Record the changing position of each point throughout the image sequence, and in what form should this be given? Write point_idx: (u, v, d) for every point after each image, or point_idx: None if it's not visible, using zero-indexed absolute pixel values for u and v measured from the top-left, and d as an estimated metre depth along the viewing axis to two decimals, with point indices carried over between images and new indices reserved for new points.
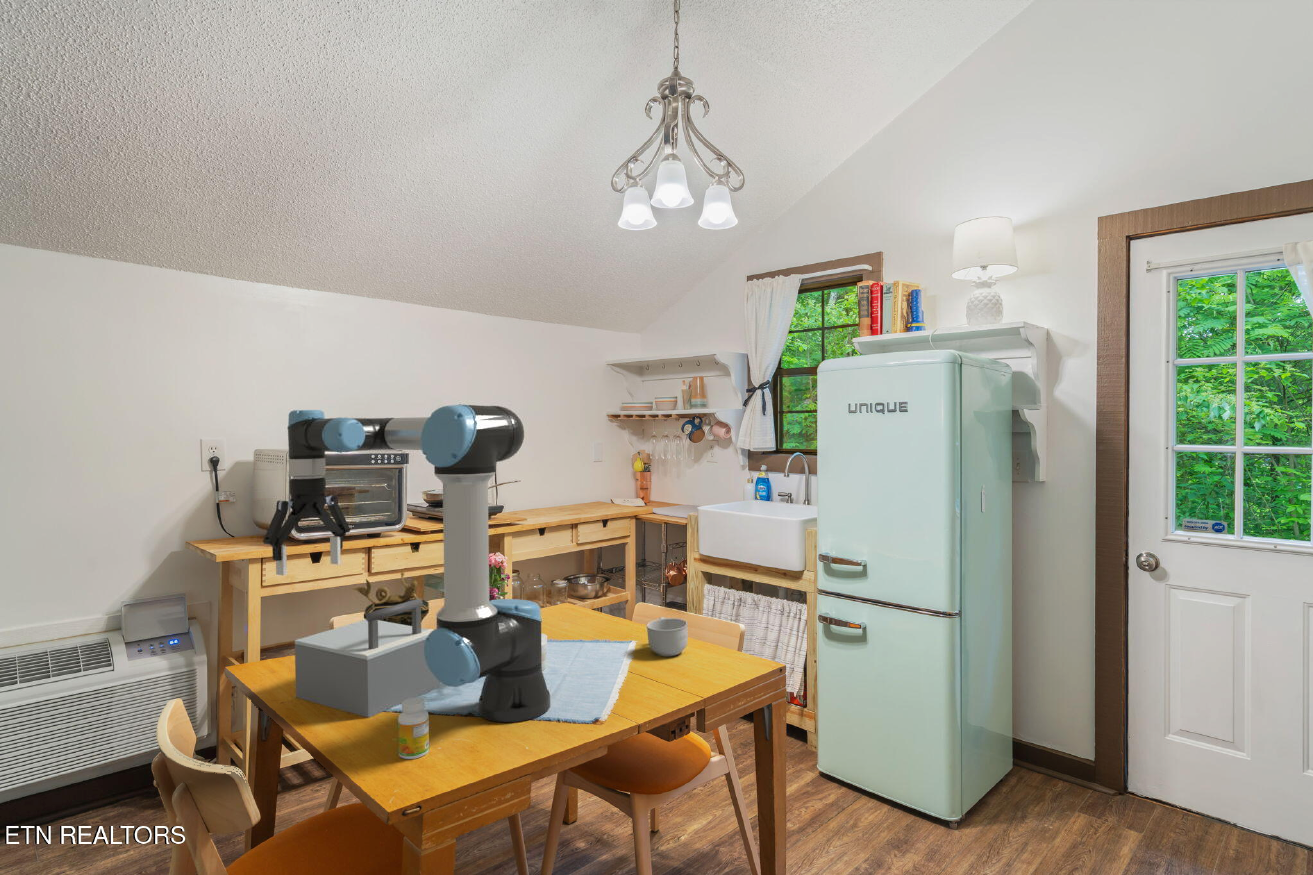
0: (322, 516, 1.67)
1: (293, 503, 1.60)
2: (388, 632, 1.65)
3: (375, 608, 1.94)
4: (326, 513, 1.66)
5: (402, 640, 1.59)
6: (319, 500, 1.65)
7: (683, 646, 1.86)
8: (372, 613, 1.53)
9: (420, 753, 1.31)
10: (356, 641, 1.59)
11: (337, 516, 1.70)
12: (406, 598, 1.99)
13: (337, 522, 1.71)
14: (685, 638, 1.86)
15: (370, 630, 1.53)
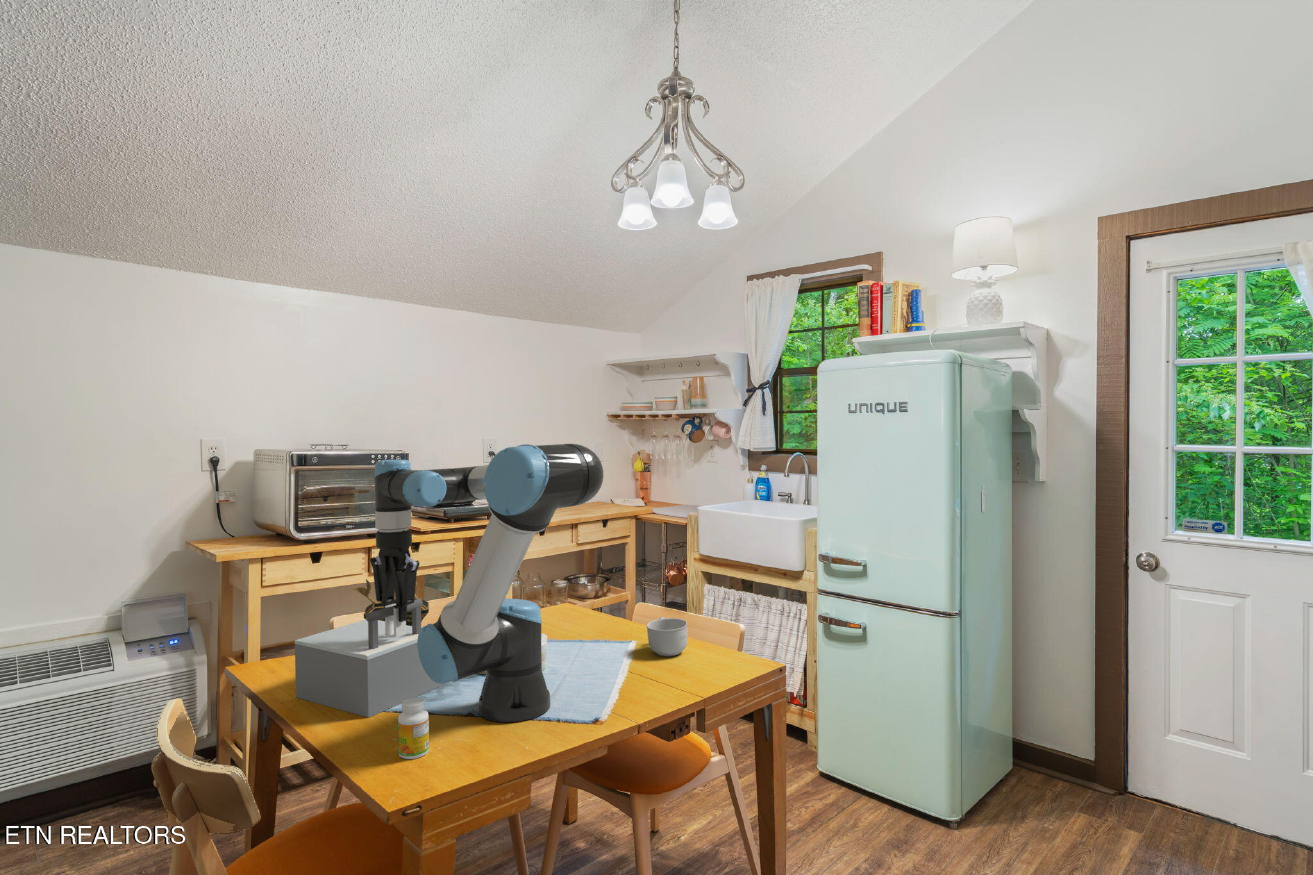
0: None
1: None
2: None
3: (375, 608, 1.94)
4: (394, 574, 1.56)
5: (402, 640, 1.59)
6: (397, 555, 1.56)
7: (683, 646, 1.86)
8: (372, 613, 1.53)
9: (420, 753, 1.31)
10: (356, 641, 1.59)
11: None
12: None
13: None
14: (685, 638, 1.86)
15: (370, 630, 1.53)
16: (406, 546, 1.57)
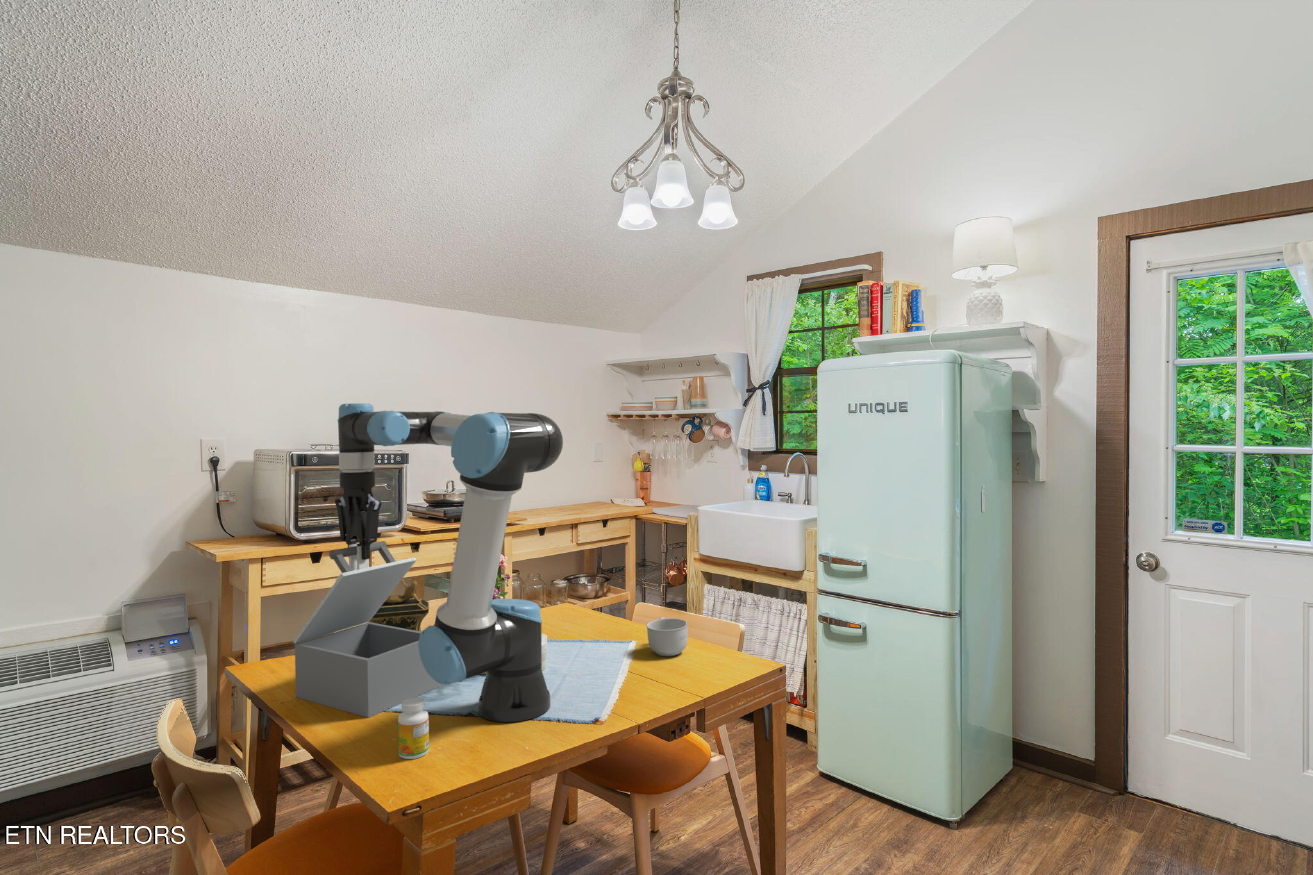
0: None
1: None
2: None
3: None
4: (357, 513, 1.61)
5: None
6: (360, 495, 1.62)
7: (683, 646, 1.86)
8: (333, 550, 1.58)
9: (420, 753, 1.31)
10: None
11: None
12: (406, 598, 1.99)
13: None
14: (685, 638, 1.86)
15: (339, 564, 1.57)
16: (369, 486, 1.62)
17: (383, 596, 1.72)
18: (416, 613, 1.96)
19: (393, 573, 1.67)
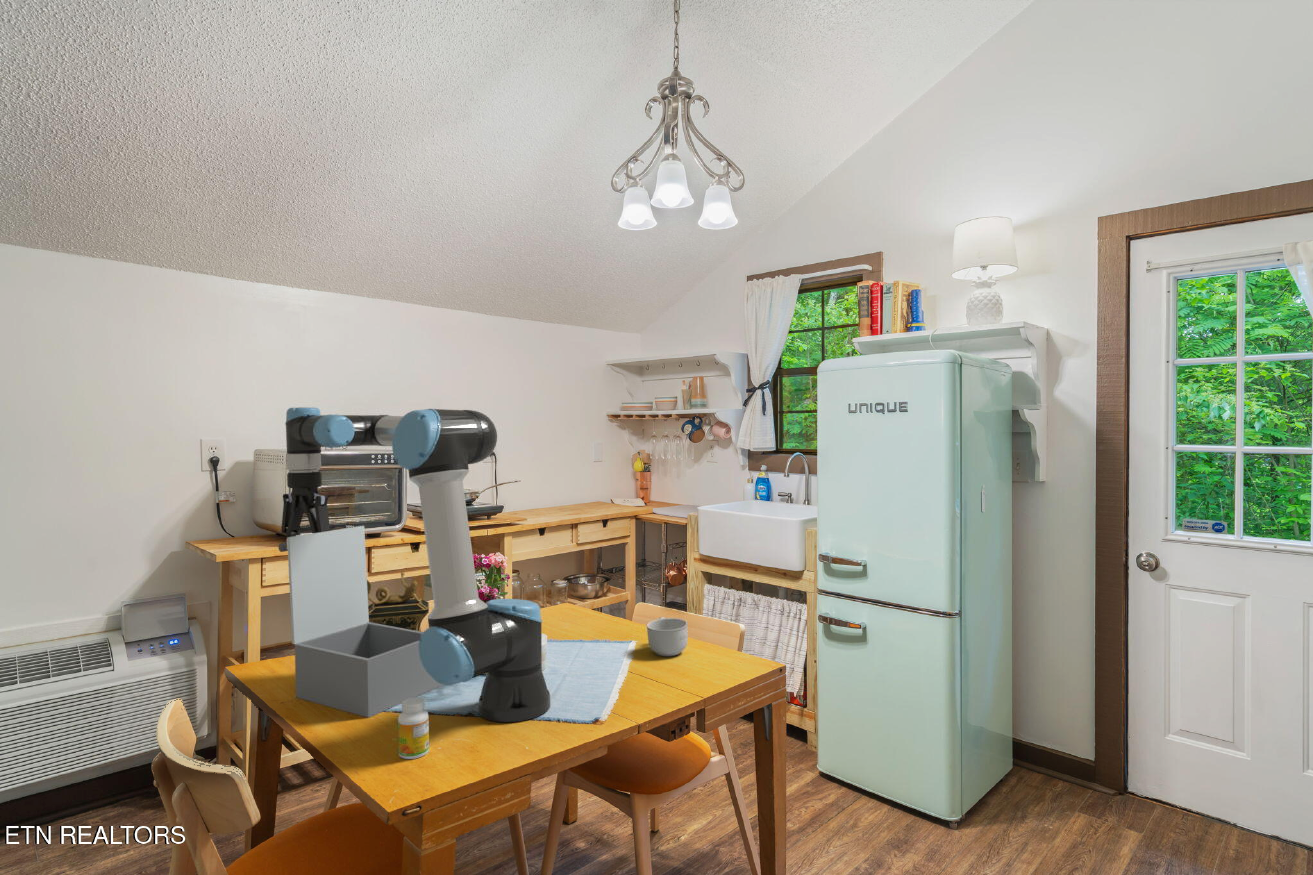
0: None
1: None
2: None
3: (375, 608, 1.94)
4: (305, 510, 1.70)
5: None
6: (306, 494, 1.71)
7: (683, 646, 1.86)
8: None
9: (420, 753, 1.31)
10: None
11: None
12: (406, 598, 1.99)
13: None
14: (685, 638, 1.86)
15: None
16: (315, 486, 1.71)
17: (360, 580, 1.76)
18: (417, 613, 1.96)
19: (349, 543, 1.74)
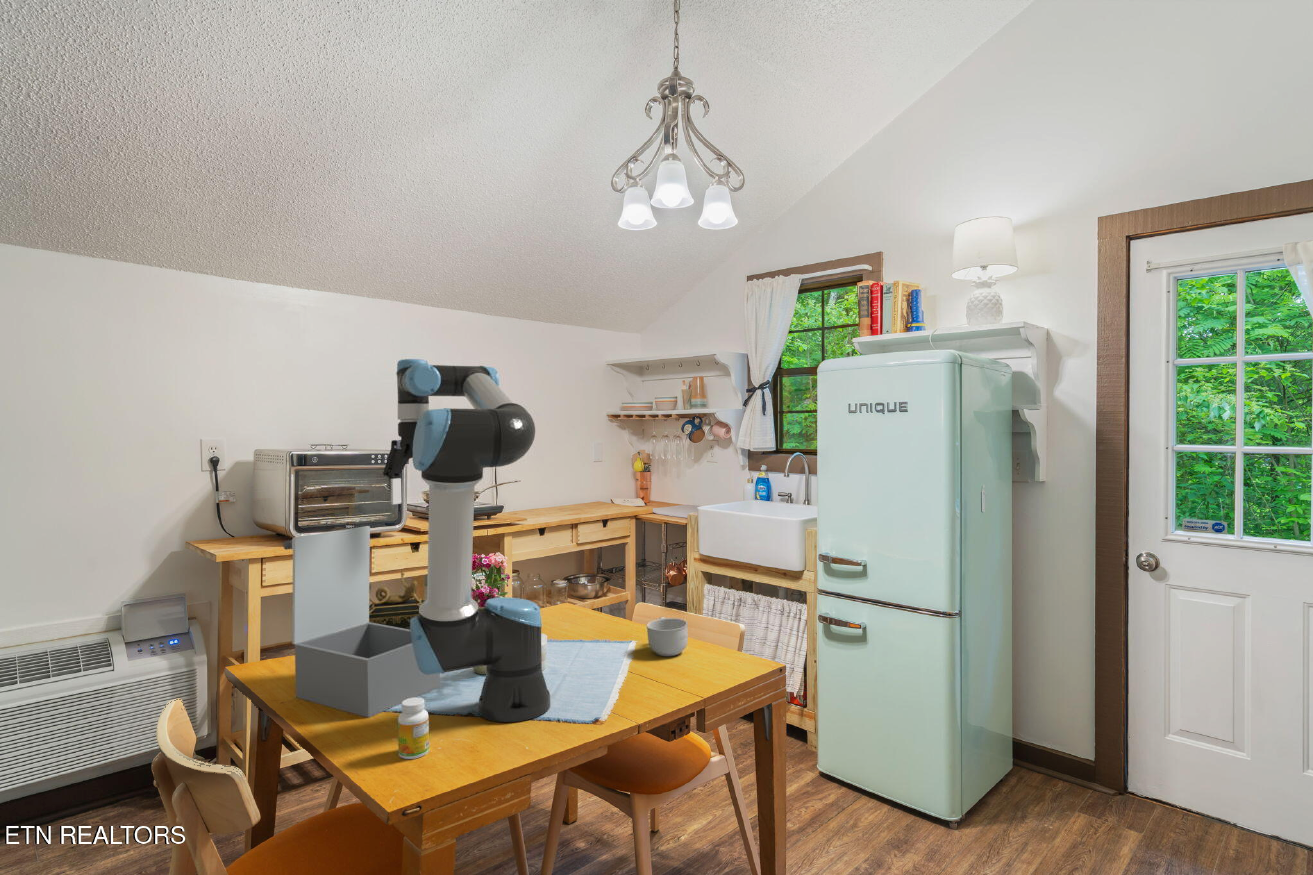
0: None
1: None
2: None
3: (375, 608, 1.94)
4: None
5: None
6: None
7: (683, 646, 1.86)
8: None
9: (420, 753, 1.31)
10: None
11: None
12: (406, 598, 1.99)
13: None
14: (685, 638, 1.86)
15: None
16: None
17: (363, 580, 1.76)
18: (416, 613, 1.96)
19: (354, 543, 1.73)
